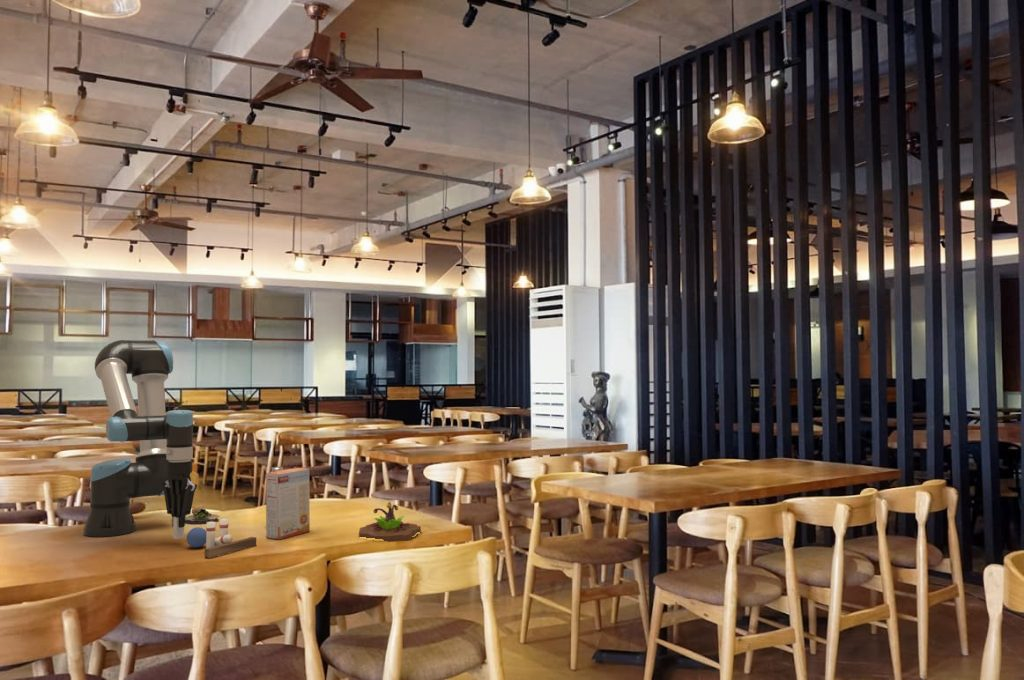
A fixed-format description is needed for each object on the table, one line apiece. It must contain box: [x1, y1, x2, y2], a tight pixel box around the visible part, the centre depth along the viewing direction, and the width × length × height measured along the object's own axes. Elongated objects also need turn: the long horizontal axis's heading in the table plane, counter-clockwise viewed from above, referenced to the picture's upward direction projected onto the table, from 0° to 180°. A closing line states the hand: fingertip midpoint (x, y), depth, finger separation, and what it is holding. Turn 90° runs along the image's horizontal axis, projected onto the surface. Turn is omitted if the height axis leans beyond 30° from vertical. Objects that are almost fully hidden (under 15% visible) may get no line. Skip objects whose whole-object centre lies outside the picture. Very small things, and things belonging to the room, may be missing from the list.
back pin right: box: [205, 521, 216, 549], centre depth 237 cm, size 2×2×8 cm
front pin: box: [215, 533, 234, 546], centre depth 239 cm, size 2×2×8 cm
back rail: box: [204, 536, 257, 559], centre depth 237 cm, size 2×18×2 cm, turn 154°
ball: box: [186, 526, 207, 549], centre depth 242 cm, size 6×6×6 cm
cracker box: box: [265, 467, 311, 540], centre depth 260 cm, size 14×6×21 cm, turn 150°
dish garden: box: [185, 502, 220, 525], centre depth 282 cm, size 12×12×8 cm
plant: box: [358, 502, 422, 543], centre depth 260 cm, size 20×20×11 cm
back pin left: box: [219, 518, 229, 537], centre depth 241 cm, size 2×2×8 cm
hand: (178, 537), depth 246 cm, fingers closed
